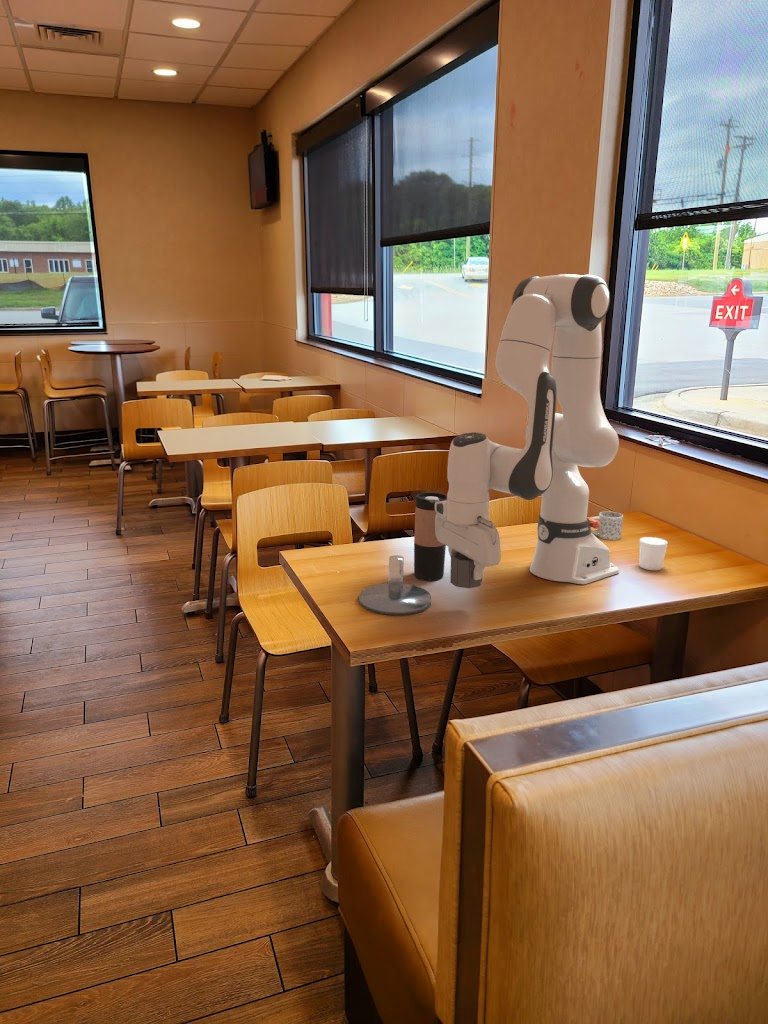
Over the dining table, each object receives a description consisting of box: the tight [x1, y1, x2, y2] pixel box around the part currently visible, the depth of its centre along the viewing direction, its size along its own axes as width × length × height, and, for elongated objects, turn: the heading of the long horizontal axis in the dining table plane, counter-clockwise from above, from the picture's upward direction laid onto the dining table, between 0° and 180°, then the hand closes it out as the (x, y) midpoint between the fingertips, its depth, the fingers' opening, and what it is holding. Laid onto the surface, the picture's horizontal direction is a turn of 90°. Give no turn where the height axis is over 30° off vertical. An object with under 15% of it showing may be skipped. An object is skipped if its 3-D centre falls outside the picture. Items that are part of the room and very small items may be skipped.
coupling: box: [449, 552, 483, 589], centre depth 162 cm, size 6×6×6 cm
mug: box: [588, 510, 624, 541], centre depth 218 cm, size 10×7×7 cm, turn 94°
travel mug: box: [413, 492, 447, 582], centre depth 182 cm, size 8×8×20 cm
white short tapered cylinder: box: [638, 536, 669, 571], centre depth 193 cm, size 7×7×7 cm
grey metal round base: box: [358, 554, 432, 616], centre depth 167 cm, size 16×16×10 cm
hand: (466, 572), depth 163 cm, fingers closed on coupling, 6 cm apart
